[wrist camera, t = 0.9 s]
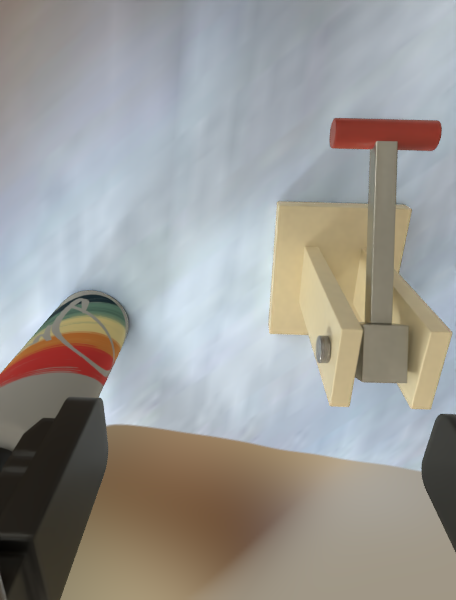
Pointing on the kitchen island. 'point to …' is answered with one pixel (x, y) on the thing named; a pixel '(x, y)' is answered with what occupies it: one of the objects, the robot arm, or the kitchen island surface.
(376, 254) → the lever
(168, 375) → the kitchen island surface
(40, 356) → the lotion bottle
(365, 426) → the kitchen island surface
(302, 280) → the bracket
